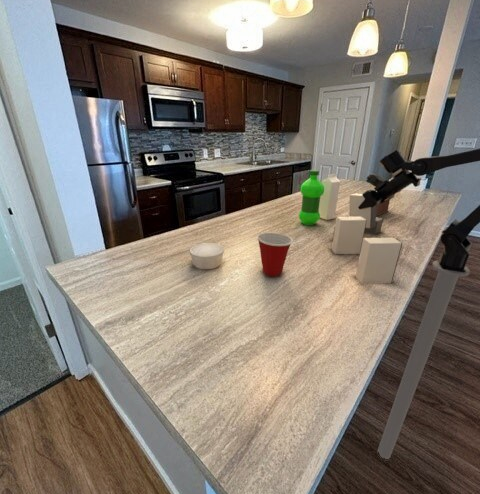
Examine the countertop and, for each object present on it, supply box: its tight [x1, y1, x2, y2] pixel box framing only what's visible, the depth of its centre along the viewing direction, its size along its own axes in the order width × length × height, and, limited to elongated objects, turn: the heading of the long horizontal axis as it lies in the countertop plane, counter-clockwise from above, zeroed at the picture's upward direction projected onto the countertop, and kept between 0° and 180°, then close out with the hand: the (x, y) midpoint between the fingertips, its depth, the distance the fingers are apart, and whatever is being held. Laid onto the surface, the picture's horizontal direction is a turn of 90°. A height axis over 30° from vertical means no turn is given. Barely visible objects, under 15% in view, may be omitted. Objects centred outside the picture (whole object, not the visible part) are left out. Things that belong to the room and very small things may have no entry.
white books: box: [331, 216, 403, 285], centre depth 86 cm, size 9×24×13 cm, turn 3°
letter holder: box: [376, 200, 391, 217], centre depth 141 cm, size 10×20×14 cm, turn 132°
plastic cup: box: [256, 231, 294, 277], centre depth 81 cm, size 11×11×12 cm
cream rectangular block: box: [348, 193, 377, 228], centre depth 108 cm, size 9×4×13 cm, turn 39°
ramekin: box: [189, 242, 225, 270], centre depth 87 cm, size 11×11×5 cm
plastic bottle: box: [298, 169, 324, 226], centre depth 122 cm, size 10×10×25 cm
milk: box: [319, 173, 341, 221], centre depth 131 cm, size 6×6×22 cm
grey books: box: [332, 216, 384, 242], centre depth 111 cm, size 9×26×6 cm, turn 133°
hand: (361, 207), depth 108 cm, fingers closed on cream rectangular block, 4 cm apart
